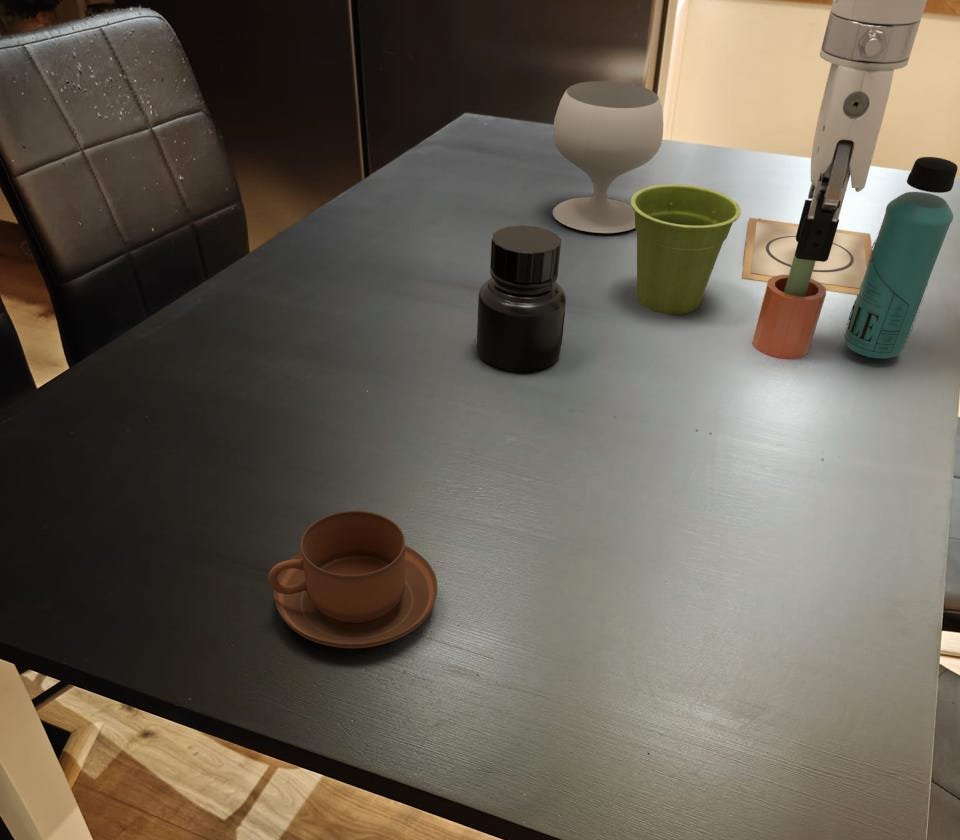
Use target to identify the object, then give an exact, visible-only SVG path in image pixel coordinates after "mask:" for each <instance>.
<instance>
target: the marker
mask: <svg viewBox="0 0 960 840" xmlns="http://www.w3.org/2000/svg"><path fill="white" fill-rule="evenodd" d="M795 252H796V251H795ZM815 262H816V261H812V260H804V259H797V258H796V257H795V255H794V258H793V262H792V266H791V269H790V273H789V276H788V280H787V284H786V287H785V291H784V293H786V294H789V295H793V296H799V297H805V296H806V292H807V289H808V286H809V282H810V279H811V275H812V272H813V269H814V265H815Z"/></svg>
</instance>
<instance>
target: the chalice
mask: <svg viewBox="0 0 960 840" xmlns="http://www.w3.org/2000/svg"><path fill="white" fill-rule="evenodd" d="M552 137H553V141H554V146H555V147H556V149H557V150H558V152H559V153H560V154H561V155H562V157H563V158H565V160H567V161H568V162H570V163H571V164H573V165H574V166H576V167H577V168H579V169H580V170H581V171H583V172H584V173H585V174H586V175H587V176H588V177H589V179H590V180H591V181H590V182H591V183H592V186H593V192H592V195H591V196H588V197H587V196H586V197H575V198H570V199H566V200H564V201H561V202H560V203H558V204H557V205H556V206H555V207H553V209H552V216H553V217H554V219H555V220H557V221H558V222H559V223H561V225H564V226H566V227H569V228H571V229H575V230H577V231H583V232H588V233H596V234H615V233H622V232H627V231H631V230H633V229H636V228H635V211H634V210H633V208H632V206H631V204H628V203H626V202H622V201H620V200H616V199H613V198H612V199H611V198H608V190H609V188H610V186H611V184H612V183H613V182H614V181H615V180H616V179H617V178H618V177H620V176H622V175H624V174H626V173H628V172H630V171H632V170H636V169H638V168H640V167H642V166H644V165H645V164H647V163H649V162H650V161H651V160H652V159H653V158H654V157H655V156H656V155H657V154H658V152H659V150H660V148H661V146H662V142H663V137H664V113H663V106H662V103H661V100H660V97H659V95H658V94H657V93H656V92H654V91H653V90H652V89H649V88H647V87H644V86H641V85H638V84H633V83H628V82H622V81H611V80H596V81H595V80H592V81H584V82H578V83H575V84H573V85H570V86H569V87H568V88H567V89H566V90H565V91H564V93H563V95H562V97H561V98H560V101H559V104H558V106H557V110H556V113H555V116H554V120H553V125H552Z"/></svg>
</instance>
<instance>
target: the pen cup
mask: <svg viewBox="0 0 960 840" xmlns="http://www.w3.org/2000/svg"><path fill="white" fill-rule="evenodd" d="M788 276H789V275H778V276H774V277H772V278H770V279H769V280H768V281H767V282H766V286H765V289H764V293H763V297H762V301H761V305H760V308H759V312H758V316H757V320H756V323H755V327H754V331H753V334H752V341H751V344H752V346H753V347H754V348H755V349H756V351H758V352H760V353H761V354H763V355H766V356H768V357H771V358H775V359H783V360H795V359H799V358H802V357H804V356H806V355H807V354H808V353H809V351H810V348H811V345H812V341H813V338H814V334H815V331H816V328H817V326H818V325H817V324H818V322H819V319H820V315H821V314H822V313H821V312H822V309H823V306H824V302H825V300H826V296H827V291H826V288H825V287H824V286H823V285H822V284H821V283H819V282H817V281H815V280H813V279H810V282H809V286H808V289H807V292H806V296H805V297H799V296H793V295H789V294H786V293H784V291H785V287H786V284H787V280H788Z"/></svg>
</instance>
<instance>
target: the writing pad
mask: <svg viewBox="0 0 960 840" xmlns="http://www.w3.org/2000/svg"><path fill="white" fill-rule="evenodd" d="M798 226H799V223H794V222H792V223H791V222H784V221H777V220H771V219H761V218H756V217H755V218H754V217H749V218H748V223H747V230H746V238H745V245H744V253H743V261H742V271H741V279H742V280H747V281H748V280H749V281H754V282H763V283H767V281H768V280H769V279H770V278H772V277H774V276H778V275H789V273H790V269H791V266H792V262H793V258H794V255H795V251H796V248H797V244H798V242H797V241H796V234H797V230H798ZM872 246H873V244H872V237H871V233H867V232H862V231H861V232H859V231H852V230H845V229H838V228H837V230H836V234H835V237H834V240H833V244H832V247H831V251H830V254H829V258H828V260H827V261H825V262H821V261H816V262H815V265H814V269H813V272H812V275H811V279H813V280H815V281H817V282H819V283H821V284H822V285H823V286H824V287H825V288H826V292H833V293H838V294H846V295H854V296H857V295H858V294H859V290H860V286H861V284H860V283H862V281H863V278H864V275H865V272H866V269H867V266H868V263H869V262H868V261H869V260H870V258H869V255H871V254H870V253H872V251H871V250H872V249H873V248H872ZM867 262H868V263H867ZM866 264H867V265H866Z"/></svg>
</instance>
